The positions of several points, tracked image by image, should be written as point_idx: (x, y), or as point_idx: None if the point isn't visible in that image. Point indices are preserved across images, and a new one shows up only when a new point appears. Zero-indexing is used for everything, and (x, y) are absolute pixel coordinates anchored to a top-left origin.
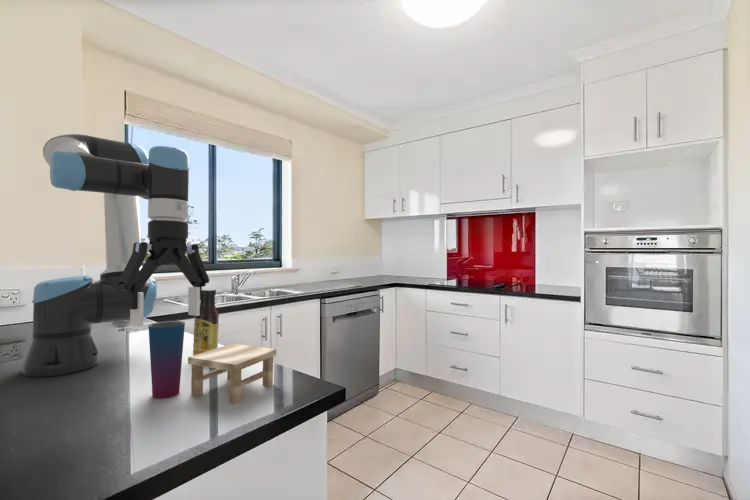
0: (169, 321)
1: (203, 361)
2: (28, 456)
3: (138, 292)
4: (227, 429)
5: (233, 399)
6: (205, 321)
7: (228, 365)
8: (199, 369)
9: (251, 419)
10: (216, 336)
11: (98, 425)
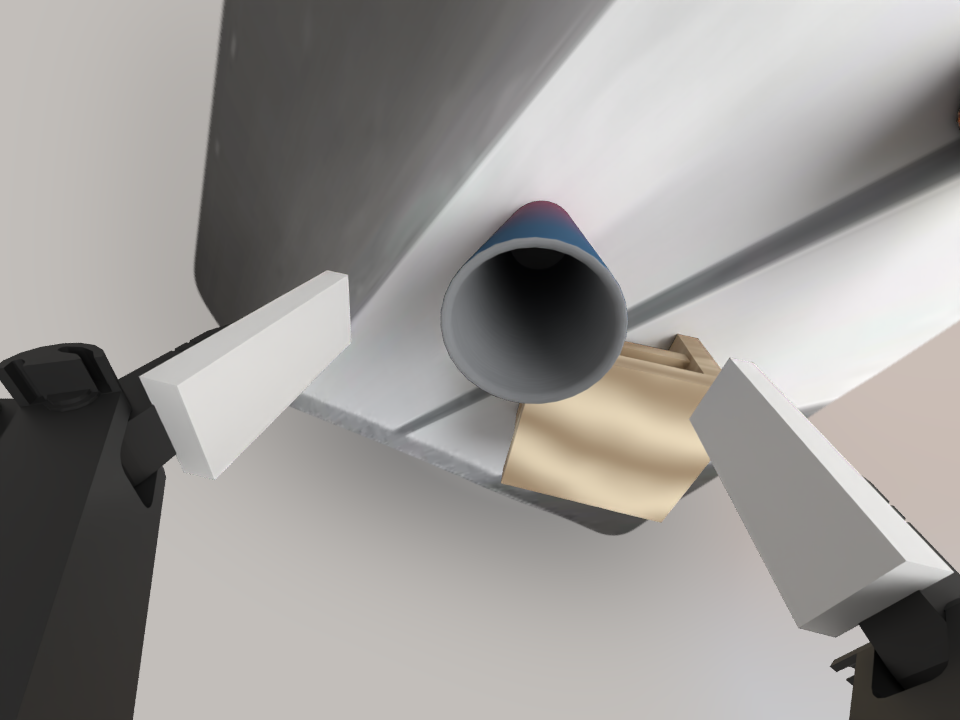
0: (612, 291)
1: None
2: (229, 210)
3: (190, 442)
4: (424, 439)
5: (516, 416)
6: None
7: (506, 463)
8: None
9: (464, 456)
10: None
11: (349, 224)
